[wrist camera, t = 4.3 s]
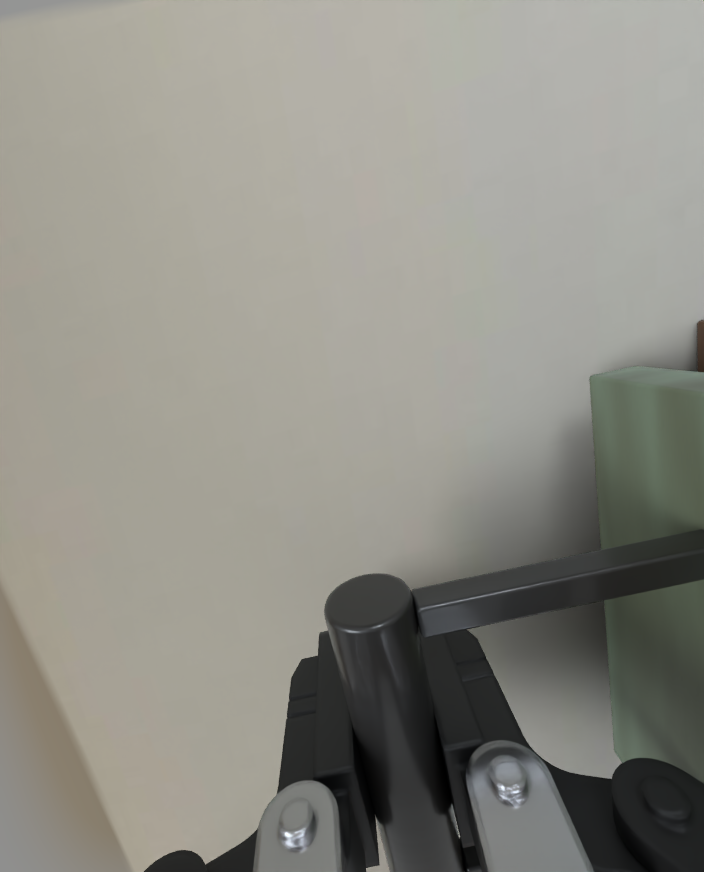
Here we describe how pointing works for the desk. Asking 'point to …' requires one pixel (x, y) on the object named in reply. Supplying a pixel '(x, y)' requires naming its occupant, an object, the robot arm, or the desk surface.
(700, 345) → the cabinet
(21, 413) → the desk surface
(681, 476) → the drawer
